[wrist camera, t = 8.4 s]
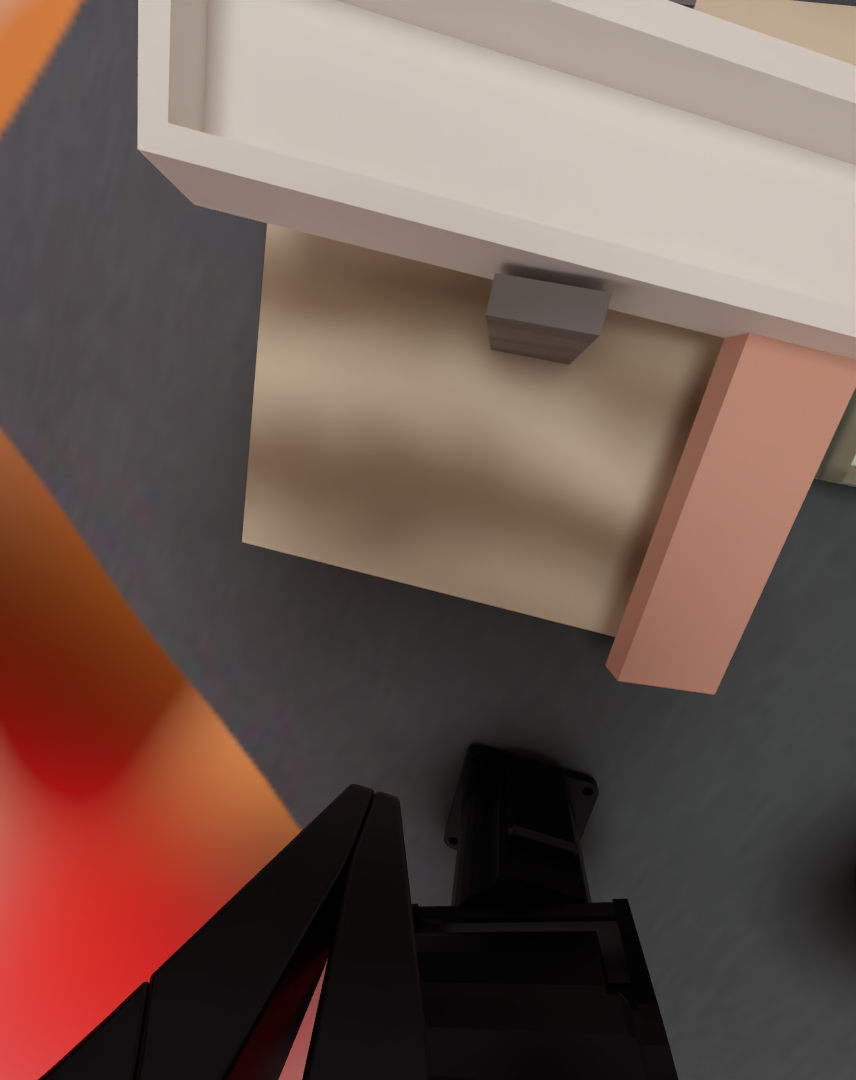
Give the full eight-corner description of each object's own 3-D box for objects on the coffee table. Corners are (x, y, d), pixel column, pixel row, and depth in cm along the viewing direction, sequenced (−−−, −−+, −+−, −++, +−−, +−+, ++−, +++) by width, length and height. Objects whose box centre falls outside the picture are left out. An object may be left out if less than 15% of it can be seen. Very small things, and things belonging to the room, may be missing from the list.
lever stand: (717, 655, 19) (813, 756, 13) (251, 537, 21) (156, 579, 15) (989, 46, 13) (1391, -269, 7) (299, -23, 15) (174, -302, 9)
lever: (697, 678, 17) (747, 724, 15) (179, 603, 15) (135, 642, 12) (913, 185, 12) (1041, 130, 10) (202, -40, 10) (139, -185, 8)
